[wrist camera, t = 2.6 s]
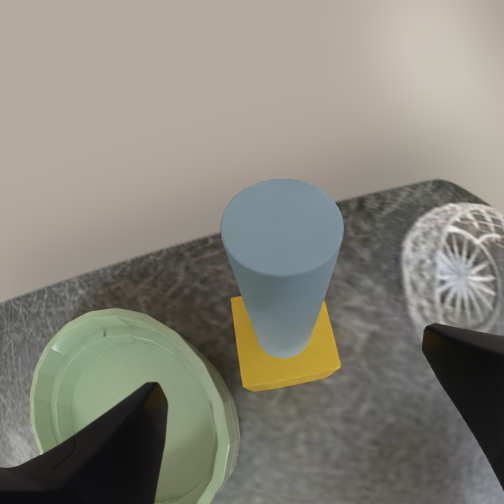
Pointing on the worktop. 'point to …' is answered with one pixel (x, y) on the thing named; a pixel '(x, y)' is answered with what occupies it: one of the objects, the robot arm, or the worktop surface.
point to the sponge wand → (282, 281)
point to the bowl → (130, 379)
